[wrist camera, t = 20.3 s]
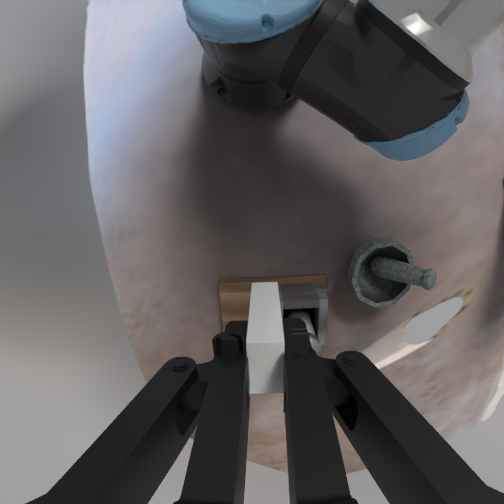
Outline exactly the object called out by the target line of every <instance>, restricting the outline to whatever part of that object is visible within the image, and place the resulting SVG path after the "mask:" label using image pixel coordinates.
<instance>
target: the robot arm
mask: <svg viewBox="0 0 504 504" xmlns="http://www.w3.org/2000/svg"><path fill="white" fill-rule="evenodd" d="M182 2H183V7H184V10H185V13H186V17H187V24H188V26H189V27H190V28H191V29H192V31H193V32H194V33H195V34H196V36H197V38H198V40H199V42H200V44H201V46H202V48H203V49H204V54H203V59H202V70H203V75H204V78H205V81H206V83H207V85H208V86H209V88H210V89H211V91H212V92H213V94H214V95H215V96H216V97H217V98H218V99H219V100H221V101H222V102H223V103H225V104H226V105H228V106H230V107H232V108H235V109H238V110H241V111H246V112H266V111H271V110H275V109H277V108H280V107H282V106H284V105H286V104H287V103H289V102H290V101H292V100H293V99H294V98H295V97H296V98H298V99H300V100H301V101H303V102H305V103H306V104H308V105H310V106H311V107H313V108H315V109H316V110H318V111H319V112H321V113H322V114H324V115H326V116H327V117H329V118H330V119H332V120H333V121H335V122H336V123H338V124H339V125H341V126H342V127H344V128H345V129H347V130H348V131H349V132H351V133H352V134H354V137H355V138H356V139H357V140H358V141H360V142H361V143H363V144H366V145H369V146H371V147H372V148H374V149H375V150H376V151H378V152H379V153H381V154H382V155H383V156H385V157H387V158H390V159H394V160H399V161H407V160H412V159H416V158H419V157H422V156H424V155H426V154H428V153H430V152H431V151H433V150H435V149H436V148H438V147H439V146H441V145H442V144H443V143H444V142H446V141H447V140H448V139H449V138H450V137H451V136H452V135H453V134H454V133H455V132H456V130H457V127H456V125H457V124H459V123H461V122H463V121H464V119H465V117H466V115H467V112H468V108H469V97H468V95H467V92H466V89H465V88H466V87H467V86H468V85H469V84H470V83H471V82H472V81H473V79H474V76H473V65H472V58H473V54H474V53H475V52H476V51H477V50H478V49H479V48H480V47H481V46H482V45H483V44H484V43H485V42H486V41H487V40H488V39H489V38H490V37H491V36H492V35H493V34H494V33H495V32H496V31H497V30H498V28H499V27H500V26H501V25H502V24H503V23H504V0H359V1H358V2H357V4H354V3H353V2H351V1H349V0H182ZM212 343H213V350H214V360H212V361H210V362H207V363H202V364H196V363H195V361H194V360H193V359H191V358H189V357H175V358H173V359H170V360H169V361H167V362H166V363H165V364H164V365H163V366H162V368H161V369H160V370H159V371H158V372H157V373H156V374H155V375H154V376H153V378H152V379H151V380H150V381H149V382H148V383H147V384H146V385H145V387H144V388H143V389H142V390H141V391H140V392H139V393H138V394H137V396H135V398H134V399H133V400H132V401H131V402H130V403H129V404H128V405H127V406H126V408H125V409H124V410H123V411H122V412H121V413H120V414H119V415H118V416H117V418H116V419H115V420H114V421H113V422H112V423H111V424H110V425H109V426H108V427H107V429H106V430H105V431H104V432H103V433H102V434H101V435H100V436H99V437H98V438H97V440H96V441H95V442H94V443H93V444H92V445H91V446H90V447H89V448H88V449H87V450H86V452H85V453H84V454H83V455H82V456H81V457H80V458H79V459H78V460H77V462H76V463H74V465H73V466H72V467H71V468H70V469H69V470H68V471H67V472H66V473H65V474H64V476H63V477H62V478H61V479H60V480H59V481H58V482H57V483H56V484H55V485H54V486H53V487H52V488H51V490H50V491H49V492H48V493H47V494H45V495H43V496H41V497H39V498H37V499H34V500H32V501H30V502H28V503H26V504H148V502H149V501H150V499H151V497H152V496H153V494H154V493H155V491H156V490H157V488H158V487H159V485H160V484H161V482H162V481H163V479H164V477H165V476H166V474H167V473H168V471H169V470H170V468H171V466H172V465H173V463H174V462H175V460H176V459H177V457H178V455H179V454H180V452H181V450H182V449H183V447H184V446H185V444H186V442H187V441H188V439H189V437H190V436H191V434H192V433H193V431H194V429H195V428H196V426H197V430H196V434H195V438H194V443H193V446H192V451H191V455H190V459H189V463H188V468H187V473H186V476H185V481H184V485H183V489H182V494H181V497H180V499H179V501H176V502H174V503H173V504H243V503H244V490H245V474H246V458H247V442H248V425H249V408H250V397H249V391H250V394H251V393H284V412H285V425H286V441H287V458H288V476H289V495H290V504H358V502H357V501H356V499H354V498H352V497H351V495H350V491H349V486H348V482H347V477H346V472H345V468H344V463H343V459H342V454H341V450H340V445H339V441H338V437H337V432H336V428H335V424H334V420H333V415H334V417H335V418H336V420H337V422H338V423H339V425H340V426H341V428H342V430H343V431H344V433H345V434H346V436H347V437H348V439H349V441H350V442H351V444H352V445H353V447H354V449H355V450H356V452H357V453H358V455H359V457H360V458H361V460H362V461H363V463H364V464H365V466H366V468H367V469H368V471H369V472H370V474H371V475H372V477H373V478H374V480H375V482H376V483H377V485H378V486H379V488H380V489H381V491H382V492H383V494H384V496H385V497H386V499H387V500H388V502H389V503H390V504H504V493H501V492H499V491H497V490H495V489H493V488H491V487H489V486H487V485H486V484H485V483H484V482H483V481H482V480H481V479H480V478H479V477H478V476H477V474H476V473H475V472H474V471H473V470H472V469H471V468H470V467H469V466H468V465H467V464H466V462H465V461H464V460H463V459H462V458H461V457H460V456H459V455H458V454H457V453H456V452H455V451H454V449H452V447H451V446H450V445H449V444H448V443H447V442H446V441H445V440H444V439H443V438H442V437H441V435H440V434H439V433H438V432H437V431H436V430H435V429H434V428H433V427H432V426H431V425H430V424H429V423H428V421H427V420H426V419H425V418H424V417H423V416H422V415H421V414H420V413H419V412H418V411H417V410H416V409H415V408H414V407H413V405H412V404H411V403H410V402H409V401H408V400H407V399H406V398H405V397H404V396H403V395H402V394H401V393H400V392H399V391H398V390H397V388H396V387H395V386H394V385H393V384H392V383H391V382H390V381H389V380H388V379H387V378H386V377H385V376H384V375H383V374H382V373H381V372H380V371H379V369H378V368H377V367H376V366H375V365H374V364H373V363H372V362H371V361H370V360H369V359H368V358H367V357H366V356H365V355H364V354H362V353H360V352H357V351H344V352H342V353H339V354H338V355H337V356H336V359H335V360H334V359H327V358H323V357H320V356H318V355H317V353H316V351H315V350H314V349H313V348H312V346H311V342H310V338H309V334H308V330H307V326H306V322H304V321H303V320H302V319H301V318H284V319H282V315H281V307H280V299H279V291H278V283H277V282H260V283H252V288H251V298H250V308H249V319H248V320H243V321H230V322H229V323H228V324H227V325H226V326H225V330H224V332H223V333H220V334H217V335H216V336H214V338H213V339H212ZM332 413H333V415H332ZM197 424H198V425H197Z"/></svg>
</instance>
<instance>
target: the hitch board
mask: <svg viewBox="0 0 504 504" xmlns="http://www.w3.org/2000/svg"><path fill="white" fill-rule="evenodd" d="M260 282H277V283H278V291H279V299H280V307H281V315H282V319H284V318H285V314H283V309H299V308H310V312H309V316H310V319H311V323H312V326H313V329H314V333H315V335H316V336H317V337H318V339H319V341H320V344H321V347H322V350H323V344H325V340H326V326H327V311H328V298H327V296H326V286H327V279H326V277H325V275H305V276H280V277H252V278H220V280H219V283H218V284H219V295H220V305H221V315H222V325H223V332H224V330H225V326H226V325H227V324H228V323H229V322H230V321H243V320H248V319H249V308H250V298H251V288H252V283H260ZM321 357H322V354H321Z"/></svg>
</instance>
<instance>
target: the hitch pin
mask: <svg viewBox="0 0 504 504" xmlns="http://www.w3.org/2000/svg"><path fill="white" fill-rule="evenodd" d="M284 311H285V318H301V319H302V320H303V321H304V322H306V326H307V330H308V334H309V338H310V342H311V346H312V348H313V349H314V350H315V351H316V353H317V355H318V356H320V357H321V354H322V347H321V344H320V341H319V339H318V337H317V336H316V335H315V333H314V329H313V326H312V323H311V319H310V316H309V313H308V309H307V308H299V309H284Z"/></svg>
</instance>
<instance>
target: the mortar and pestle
mask: <svg viewBox="0 0 504 504" xmlns="http://www.w3.org/2000/svg"><path fill="white" fill-rule="evenodd" d="M348 276H349V279H350V282H351V284H352V287H353V289H354V291H355V294H356V296H357V298H358V299H359V300H360V301H362V302H364V303H366V304H368V305H370V306H372V307H374V308H377V307H382V306H387V305H391V304H395V303H396V302H397V301H398V300H399V299H400V298H401V297H402V296H403V295H404V294H405V293H406V292H407V291H408V290H409V289H410V286H411V284H413V285H418V286H422V287H423V288H425V289H426V290H430V289H432V288H433V286H434V284H435V282H436V271H434V270H433V269H431V268H429V269H424V268H420V267H417V266H414V263H413V260H412V256H411V253H410V250H408V249H407V248H405V247H403V246H402V245H400V244H399V243H397V242H396V241H394V240H392V239H391V238H386V237H385V238H379V239H373V240H367V241H366V242H365V243H362V244H361V245H360V246H359V247H358V248H357V249H356V250H355V251H354V252H353V255H352V259H351V263H350V267H349V271H348Z"/></svg>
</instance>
